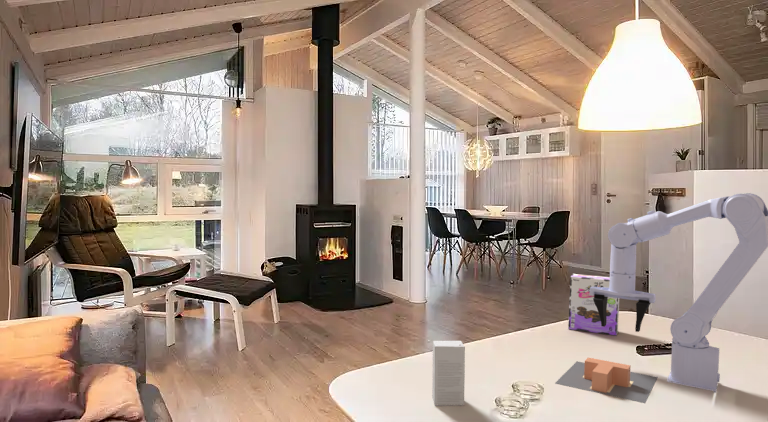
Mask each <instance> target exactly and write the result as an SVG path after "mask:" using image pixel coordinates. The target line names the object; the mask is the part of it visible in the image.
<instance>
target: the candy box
mask: <svg viewBox="0 0 768 422" xmlns="http://www.w3.org/2000/svg"><path fill="white" fill-rule="evenodd" d="M569 280H570V281H569V303H568V308H569V309H568V324H567V325H568V330H574V331H581V332H588V333H595V334H603V335H604V334H605V335H609V336H610V335H611V336H617V335H618V333H619V315H620V314H619V313H620V298H613V297H608V300H607V309H606V318H607V321H606V326H605V327H603V326H601V320H600V315H599V312H598V310H597V307H596V305H595V303H594V301H593V298H594V296H592V295H590V287H606V288H609V283H610V276H601V275H589V274H581V273H580V274H576V273H572V275H570V279H569Z"/></svg>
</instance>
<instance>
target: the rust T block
mask: <svg viewBox="0 0 768 422" xmlns="http://www.w3.org/2000/svg"><path fill="white" fill-rule="evenodd" d="M584 363H585V368H584V378H585V379H589V380H592V390H595V391H600V392H604V393H607V391H608V390H609V389H610V387H611V386H612V384H613V385H618V386H623V387H628V385H629V384H630V372H631V365H630V364H626V363H620V362H614V361H609V360H603V359H600V358H599V359H598V358H594V357H593V358H592V357H587V358H586V359H585V360H584Z"/></svg>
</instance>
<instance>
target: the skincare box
mask: <svg viewBox="0 0 768 422" xmlns="http://www.w3.org/2000/svg"><path fill="white" fill-rule="evenodd" d="M465 351H466V346H465V345H464V343H463V341H462V340H432V388H431V389H432V395H431V396H432V401H433V403H434V404H433V405H434V406H436V407H437V406H441V407H442V406H464V405H465V375H466V374H465V371H466V370H465V367H466V364H465V362H466V359H465V358H466V357H465V356H466V353H465Z"/></svg>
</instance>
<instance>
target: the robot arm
mask: <svg viewBox="0 0 768 422" xmlns="http://www.w3.org/2000/svg"><path fill="white" fill-rule="evenodd" d="M706 218H714V219H720V220H721V219H727V221H728V222H729V223H730V224H731V226H732V227H733V228H734V230H735V233H736V235H737V238H738V244H737V245H736V247H735V248H734V249H733V250H732V252H731V253H730V254H729V256H728V257H727V259H726V260H725V261H724V263H723V264H722V265H721V267H720V268H719V269H718V271H717V272H716V273H715V275H714V276H713V277H712V279H711V280H710V281H709V283H708V284H707V285H706V287H705V288H704V290H703V291H702V292H701V293H700V295H699V296H698V297H697V299H695V301H694V302H693V304H692V305H691V306H690V307H689V308H688V309H686V311H685V312H684V313H683V314H682V315H681V316H678V317H677V318H675V319H674V320H673V321H672V322H671V325H670V334H671V336H672V338H671V357H670V358H671V360H670V363H671V364H670V371H669V375H668V376H667V379H666V382H667V383H672V384H676V385H682V386H687V387H692V388H695V389H696V388H697V389H702V390H708V391H712V392H713V393H717V390H718V383H720V380H721V378H720V377H721V374H720V373H719V369H720V368H719V367H720V366H719V364H720V347H716V346H712V345H710V341H709V340H708V338H707V335H709V333H710V332H711V331H712V324H713V323H712V322H713V320H714V318H715V317H716V316H717V314H718V312H719V311H720V310H721V308H723V306H724V304H725V303H726V302H727V301H728V299H729V298H730V297H731V295H732V294H733V293H734V292H735V291H736V289H737V288H738V286H739V285H740V284H741V282H742V281H743V280H744V279H745V277H746V276H747V274H749V272H750V271H751V269H752V268H753V267H754V266H755V265H756V263H757V262H758V261H759V259H760V258H761V257H762V255H763V254H764V253H765V251H766V250H767V249H768V207H767V205H766V203H765V201H764V200H763V198H762V197H760V196H759V195H757V194H755V193H751V192H750V193H748V192H747V193H736V194H735V193H734V194H733V195H730V196H721V197H716V198H711V199H707V200H705V201H702V202H699V203H696V204H693V205H690V206H687V207H685V208H681V209H679V210H675V211H673V212H671V213H666V212H663V211H660V210H658V211H655V209H653V210H650V211H647V212H646V215H642V216H640V217H639V216H638V217H637V218H633V217H630V218H627V222H617V223H616V224H615V225H612V226H611V227H610V228H609V230H608V232H607V238H608V241H609V242H610V258H609V259H610V261H609V277H610V283H609V288H606V287H590V295H592V296H594V298H593V301H594V303H595V305H596V307H597V310H598V312H599V315H600V320H601V326H603V327H605V326H606V321H607V318H606V309H607V300H608V297H613V298H619V299H623V300H628V301H629V300H630V301H637V302H636V303H635V309H636V311H635V313H636V318H635V319H636V320H635V326H634V327H635V332H636V333H640V331H641V326H642V322H643V319H644V317H645V314H646V312H647V311H648V308H649V307H650V305H651V304H655V303H656V301H657V300H656V295H657V294H656V293H650V292H644V291H639V290H636V278H637V277H636V273H637V272H636V271H637V244H638V243H644V242H647V241H650V240H656V239H658V238H662V237H665V236H668V235H670V233H671V232H672V229H673V228H674V227H677V226H681V225H685V224H688V223H691V222H695V221H698V220H702V219H706Z"/></svg>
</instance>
